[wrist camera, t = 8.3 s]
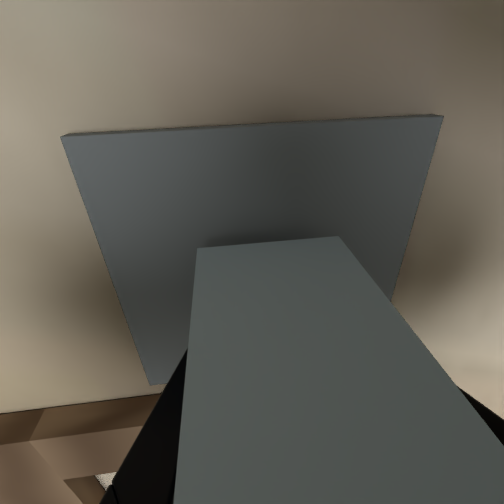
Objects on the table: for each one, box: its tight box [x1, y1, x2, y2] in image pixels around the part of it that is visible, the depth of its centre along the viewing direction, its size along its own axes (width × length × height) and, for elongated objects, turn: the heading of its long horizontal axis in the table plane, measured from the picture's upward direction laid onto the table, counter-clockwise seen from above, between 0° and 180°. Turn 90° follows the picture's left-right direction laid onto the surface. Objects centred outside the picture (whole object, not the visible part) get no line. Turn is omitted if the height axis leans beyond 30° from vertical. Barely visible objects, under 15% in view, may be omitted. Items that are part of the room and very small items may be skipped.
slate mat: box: [60, 114, 444, 385], centre depth 11 cm, size 11×11×1 cm
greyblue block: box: [173, 236, 504, 504], centre depth 7 cm, size 4×4×8 cm
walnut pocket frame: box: [0, 394, 161, 504], centre depth 18 cm, size 14×14×2 cm
